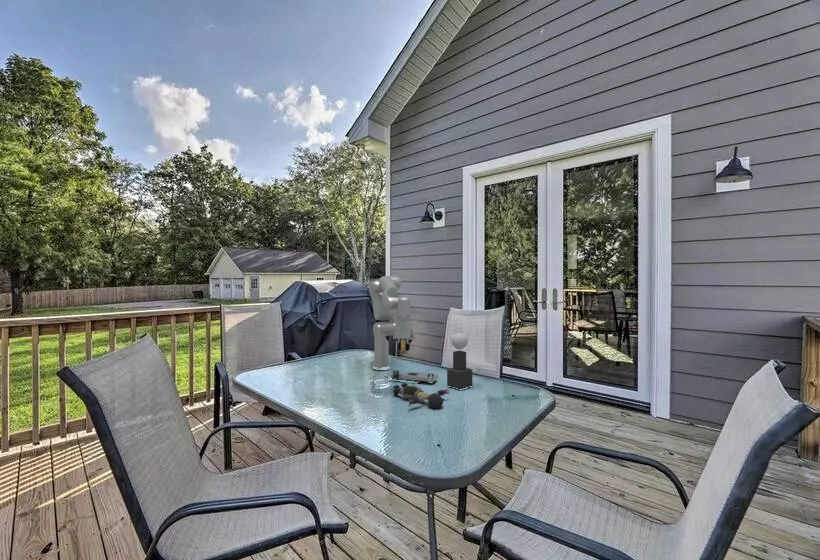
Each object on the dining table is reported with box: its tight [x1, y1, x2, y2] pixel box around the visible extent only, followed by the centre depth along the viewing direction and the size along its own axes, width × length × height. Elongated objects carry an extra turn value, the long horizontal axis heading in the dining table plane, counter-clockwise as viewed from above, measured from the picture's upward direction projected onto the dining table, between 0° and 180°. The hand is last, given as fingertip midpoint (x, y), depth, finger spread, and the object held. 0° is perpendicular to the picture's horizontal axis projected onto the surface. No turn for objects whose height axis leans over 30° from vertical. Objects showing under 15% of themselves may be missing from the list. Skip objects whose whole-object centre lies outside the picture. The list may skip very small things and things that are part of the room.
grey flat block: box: [389, 369, 439, 382], centre depth 219 cm, size 28×10×5 cm, turn 68°
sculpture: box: [446, 332, 474, 389], centre depth 205 cm, size 10×10×30 cm
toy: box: [392, 382, 451, 410], centre depth 180 cm, size 27×7×30 cm
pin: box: [399, 339, 408, 355], centre depth 215 cm, size 4×4×10 cm
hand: (403, 349), depth 215 cm, fingers closed on pin, 4 cm apart
